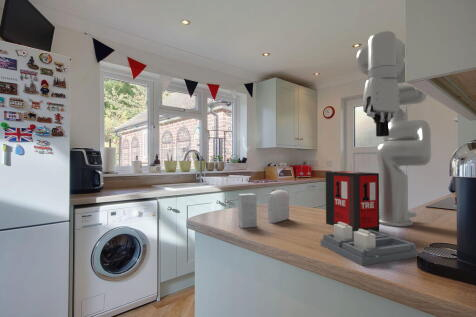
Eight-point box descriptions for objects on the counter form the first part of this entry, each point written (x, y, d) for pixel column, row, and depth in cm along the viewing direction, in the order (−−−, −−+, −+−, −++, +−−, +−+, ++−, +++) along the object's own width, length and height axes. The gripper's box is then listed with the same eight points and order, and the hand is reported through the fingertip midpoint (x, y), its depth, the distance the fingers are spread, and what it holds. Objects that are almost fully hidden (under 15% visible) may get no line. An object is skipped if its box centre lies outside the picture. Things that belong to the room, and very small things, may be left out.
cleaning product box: (379, 232, 89) (378, 173, 90) (358, 234, 86) (358, 173, 87) (344, 221, 105) (344, 171, 105) (326, 223, 102) (325, 171, 102)
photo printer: (275, 223, 102) (274, 191, 102) (266, 221, 105) (266, 190, 105) (290, 219, 109) (290, 189, 109) (282, 217, 112) (282, 188, 112)
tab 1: (342, 239, 77) (342, 221, 77) (352, 243, 73) (352, 224, 73) (333, 240, 76) (333, 221, 76) (343, 244, 72) (343, 225, 72)
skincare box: (252, 224, 101) (252, 193, 101) (257, 226, 97) (256, 194, 97) (237, 225, 100) (237, 193, 100) (241, 228, 96) (241, 195, 96)
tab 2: (363, 247, 69) (363, 227, 69) (375, 252, 65) (375, 231, 65) (353, 249, 68) (353, 228, 68) (365, 254, 64) (365, 233, 64)
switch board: (370, 238, 82) (370, 228, 82) (419, 256, 67) (419, 244, 67) (320, 244, 77) (320, 234, 77) (361, 265, 61) (361, 252, 61)
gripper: (390, 81, 86) (390, 137, 86) (352, 77, 81) (353, 136, 81) (411, 74, 79) (412, 135, 79) (372, 69, 74) (372, 134, 74)
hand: (382, 136), depth 80 cm, fingers closed
